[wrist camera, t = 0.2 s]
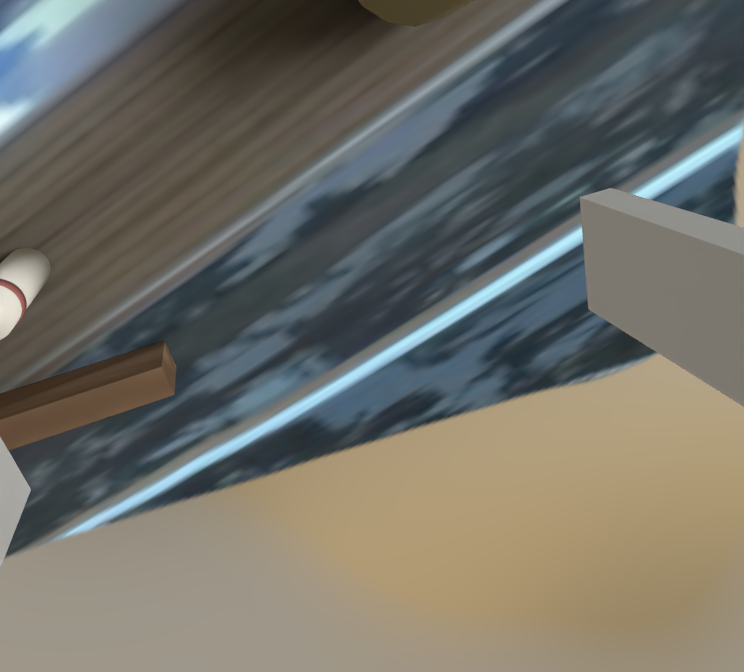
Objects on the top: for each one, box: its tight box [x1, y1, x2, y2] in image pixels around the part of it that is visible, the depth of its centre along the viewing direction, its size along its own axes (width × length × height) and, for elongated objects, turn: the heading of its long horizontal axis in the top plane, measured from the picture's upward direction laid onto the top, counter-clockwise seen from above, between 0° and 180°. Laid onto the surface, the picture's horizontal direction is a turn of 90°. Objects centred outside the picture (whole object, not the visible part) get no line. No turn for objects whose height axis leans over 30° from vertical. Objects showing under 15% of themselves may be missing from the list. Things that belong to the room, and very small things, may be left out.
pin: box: [0, 248, 51, 340], centre depth 34 cm, size 2×2×8 cm
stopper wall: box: [0, 341, 176, 450], centre depth 39 cm, size 2×16×4 cm, turn 105°
